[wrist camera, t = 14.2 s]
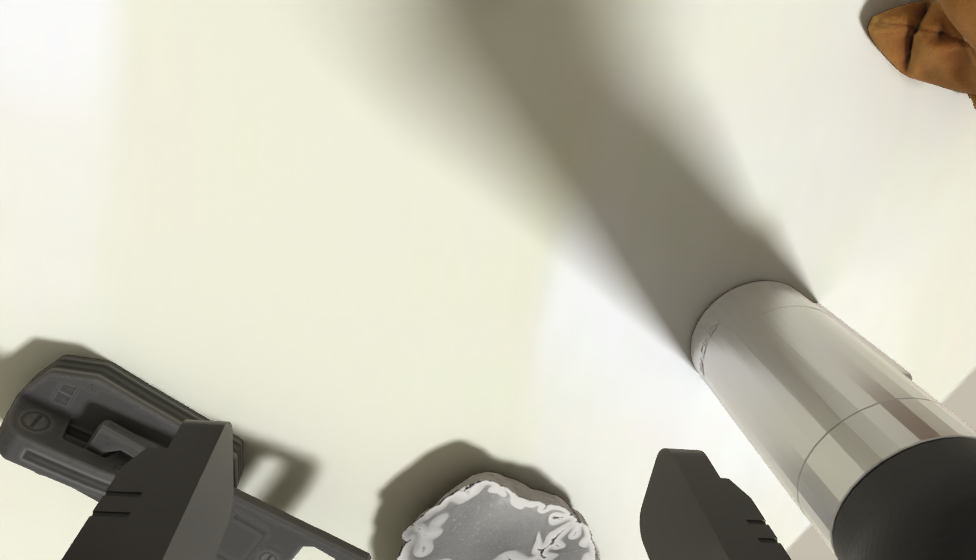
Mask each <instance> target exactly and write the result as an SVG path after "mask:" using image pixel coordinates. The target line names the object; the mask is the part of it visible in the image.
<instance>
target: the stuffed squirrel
mask: <svg viewBox="0 0 976 560" xmlns="http://www.w3.org/2000/svg"><path fill="white" fill-rule="evenodd" d="M868 32H869V35H870V36H871V38H872V40H873V42H874V43H875V45H876V46H877V47H878V49H879V50H880V51H881V52H882V53H883V54H884V55H885V57H886V58H887V59H888V60H889V61H890V62H891V63H892V64H893V65H894V66H895V67H896V69H898V70H899V71H900V72H901V73H903V74H904V75H906V76H908V77H910V78H913V79H917V80H920V81H924V82H927V83H930V84H934V85H937V86H940V87H943V88H947V89H950V90H953V91H958V92H962V93H967V94H968V96H969V98H971V100H972V101H973V106H974V108H975V109H976V0H925V1H919V2H914V3H909V4H905V5H902V6H898V7H895V8H892V9H889V10H887V11H884V12H882V13H880V14H877V15H875V16H873V17H872V19H871V21H870V23H869V26H868Z"/></svg>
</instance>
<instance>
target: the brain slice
mask: <svg viewBox="0 0 976 560" xmlns="http://www.w3.org/2000/svg"><path fill="white" fill-rule="evenodd" d="M402 540H403V541H404V543H403V545H402V548H401V550H400V553H399V555H398V557H397V559H396V560H600V559H599V558H598V556H597V555H596V550H595V546H594V542H593V540H592V534H591V532H590V529H589V526H588V524H587V523H586V521H585V519H584V518H583V516H582V515H581V514H580V513H579V512H578V511H576V510H574V509H572V508H570V507H569V506H568V505H567V503H566V502H565V501H564V500H563V499H561V498H560V497H558V496H557V495H552V494H550V493H547V492H544V491H540V490H536V489H530V488H529V487H528V486H526V485H525V484H523V483H521V482H519V481H516V480H514V479H511V478H509V477H504V476H502V475H500V474H498V473H493V472H482V473H479V474H475V475H472V476H471V477H469V478H468V479H466V480H465V481H463V482H462V483H460V484H459V485H457V486H456V487H455V488H453V489H452V490H451V491H449V492H448V493H447V494H445V495H444V496H443V497H442V498H441V499H440V500H439V501H438V502H437V503H436V504H435V506H434V507H432V508H429V509H427V510H425V511H424V512H423V513H422V514H420V515H419V516H418V517H417V518H416V519H415V520H414V522H413V523H412V525H410V526H408V527H407V528H406V529H405V530H404V532H403V534H402Z"/></svg>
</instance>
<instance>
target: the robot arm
mask: <svg viewBox="0 0 976 560" xmlns="http://www.w3.org/2000/svg"><path fill="white" fill-rule="evenodd" d="M691 358H692V361H693V364H694V367H695V369H696V370H697V372H698V373H699V374H700V376H701V377H702V379H703V380H704V381H705V383H706V384H707V385H708V387H709V388H710V389H711V391H712V392H713V393H714V395H715V396H716V397H717V399H718V400H719V401H720V403H721V404H722V406H723V407H724V408H725V410H726V411H727V412H728V414H729V415H730V416H731V418H732V419H733V420H734V422H735V423H736V424H737V426H738V427H739V428H740V430H741V431H742V432H743V434H744V435H745V436H746V438H747V439H748V440H749V442H750V443H751V444H752V446H753V447H754V448H755V450H756V451H757V452H758V454H759V455H760V456H761V458H762V459H763V460H764V462H765V463H766V464H767V466H768V467H769V468H770V470H771V471H772V472H773V474H774V475H775V476H776V478H777V479H778V480H779V482H780V483H781V484H782V486H783V487H784V488H785V490H786V491H787V492H788V494H789V495H790V496H791V498H792V499H793V500H794V502H795V503H796V504H797V506H798V507H799V508H800V510H801V511H802V512H803V513H804V515H805V516H806V517H807V519H808V520H809V521H810V523H811V524H812V525H813V527H814V528H815V529H816V531H817V532H818V533H819V535H820V536H821V537H822V538H823V540H824V541H825V543H826V544H827V545H828V546H829V548H830V549H831V551H832V552H833V553H834V555H835V556H836V557H837V558H838V560H976V430H974V429H973V428H972V427H971V426H969V425H968V424H967V423H965V422H964V421H963V420H962V419H960V418H959V417H958V416H956V415H955V414H954V413H952V412H951V411H950V410H949V409H947V408H946V407H945V406H943V405H942V404H941V403H939V402H938V401H937V400H936V399H934V398H933V397H932V396H930V395H929V394H928V393H927V392H925V391H924V390H923V389H922V388H920V387H919V386H918V385H916V384H915V383H914V382H913V381H912V377H911V375H910V373H909V372H908V371H907V370H905V369H904V368H903V367H901V366H900V365H899V364H898V363H896V362H895V361H894V360H892V359H891V358H890V357H888V356H887V355H886V354H885V353H883V352H882V351H881V350H879V349H878V348H877V347H875V346H874V345H873V344H872V343H870V342H869V341H868V340H866V339H865V338H864V337H862V336H861V335H860V334H859V333H857V332H856V331H855V330H853V329H852V328H851V327H849V326H848V325H847V324H846V323H844V322H843V321H842V320H840V319H839V318H838V317H836V316H835V315H834V314H833V313H831V312H830V311H829V310H827V309H826V308H825V307H823V306H822V305H821V304H817V303H812V302H811V301H810V300H809V299H807V298H806V297H805V296H803V295H802V294H801V293H800V292H798V291H797V290H795V289H794V288H792V287H790V286H789V285H786V284H783V283H780V282H774V281H759V282H751V283H748V284H745V285H741V286H738V287H736V288H734V289H732V290H731V291H729V292H727V293H725V294H724V295H722V296H721V297H720V298H718V299H717V300H716V301H714V302H713V303H712V305H711V306H710V307H709V308H708V309H707V310H706V311H705V312H704V314H703V315H702V317H701V318H700V320H699V321H698V323H697V325H696V328H695V330H694V333H693V336H692V341H691ZM233 492H234V482H233V432H232V425H231V423H230V422H223V421H206V420H188V419H187V420H184V421H183V423H182V424H181V426H180V427H179V429H178V431H177V433H176V434H175V436H174V438H173V440H172V441H171V443H170V445H169V447H168V448H152V447H147V448H146V449H145V450H143V451H142V452H141V453H139V454H138V455H137V456H135V457H134V458H133V459H131V460H130V461H129V462H127V463H126V464H125V465H124V466H122V467H121V469H120V470H119V472H118V473H117V475H116V476H115V478H114V479H113V481H112V482H111V484H110V486H109V487H108V489H107V490H106V494H105V496H102V498H101V499H100V501H99V503H98V504H97V506H96V507H95V509H94V510H93V515H92V516H90V517H89V518H88V520H87V521H86V523H85V524H84V526H83V527H82V529H81V530H80V532H79V534H78V535H77V537H76V538H75V540H74V541H73V543H72V544H71V546H70V548H69V549H68V551H67V552H66V554H65V555H64V557H63V558H62V560H215V558H216V555H217V553H218V550H219V547H220V544H221V542H222V539H223V536H224V534H225V531H226V528H227V525H228V522H229V518H230V514H231V509H232V503H233ZM640 532H641V537H642V541H643V544H644V547H645V549H646V552H647V554H648V557H649V559H650V560H791V559H790V557H789V555H788V554H787V552H786V551H785V549H784V548H783V546H782V545H781V543H778V542H777V537H776V536H775V534H774V533H773V531H772V530H771V528H770V527H769V525H766V524H765V519H764V517H763V516H762V514H761V513H760V511H759V510H758V508H757V507H756V505H755V504H754V502H753V501H752V499H751V498H750V497H749V496H748V495H747V494H745V493H744V492H743V491H742V490H741V489H740V488H739V487H737V486H736V485H735V484H734V483H733V482H732V481H731V480H729V479H726V478H720V477H719V475H718V473H717V472H716V470H715V469H714V467H713V465H712V464H711V462H710V461H709V459H708V457H707V456H706V454H705V453H704V452H702V451H700V450H685V449H667V448H664V449H662V450H660V452H659V453H658V455H657V458H656V461H655V464H654V468H653V471H652V474H651V478H650V481H649V484H648V487H647V491H646V494H645V497H644V501H643V504H642V507H641V512H640Z"/></svg>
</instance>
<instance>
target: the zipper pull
mask: <svg viewBox="0 0 976 560" xmlns="http://www.w3.org/2000/svg"><path fill="white" fill-rule="evenodd" d="M187 419H188V420H206V421H210V420H209V419H207V418H205V417H204V416H202V415H200V414H199V413H197V412H195V411H193V410H192V409H190V408H188V407H187V406H185V405H183V404H181V403H180V402H178V401H176V400H175V399H173V398H171V397H170V396H168V395H166V394H164V393H163V392H161V391H159V390H158V389H156V388H154V387H152V386H151V385H149V384H148V383H146V382H144V381H143V380H141V379H139V378H138V377H136V376H134V375H133V374H131V373H130V372H128V371H126V370H125V369H123V368H121V367H120V366H118V365H116V364H115V363H113V362H111V361H106V360H99V359H92V358H85V357H79V356H72V355H64V356H62V357H61V358H59V359H58V360H57V361H55V362H54V363H52V364H51V365H50V366H48V367H47V368H45V369H44V370H43V371H41V372H40V373H38V374H37V375H36V376H35V377H34V378H33V379H32V380H31V381H30V382H29V383H28V384H27V385H26V386H25V387H24V388H23V389H22V390H21V392H20V393H19V394H18V395H17V397H16V399H15V400H14V402H13V404H12V405H11V407H10V409H9V411H8V412H7V414H6V416H5V418H4V420H3V422H2V425H1V427H0V454H1V455H2V457H3V458H5V459H7V460H9V461H11V462H13V463H16V464H18V465H20V466H23V467H25V468H27V469H30V470H32V471H34V472H35V473H37V474H39V475H43V476H46V477H48V478H51V479H53V480H56V481H58V482H60V483H63V484H65V485H68V486H70V487H72V488H74V489H76V490H78V491H80V492H81V493H83V494H85V495H87V496H89V497H90V498H92V499H94V500H96V501H98V502H99V501H100V499H101V498H102V496H105V494H106V490H107V489H108V487H109V486H110V484H111V482H112V481H113V479H114V478H115V476H116V475H117V473H118V472H119V470H120V469H121V467H122V466H124V465H125V464H126V463H127V462H129V461H130V460H131V459H133V458H134V457H135V456H137V455H138V454H139V453H141V452H142V451H143V450H145V449H146V448H147V447H152V448H168V447H169V445H170V443H171V441H172V440H173V438H174V436H175V434H176V433H177V431H178V429H179V427H180V426H181V424H182V423H183V421H184V420H187ZM242 470H243V442H242V439H240V438H239V437H237V436H236V435H234V434H233V482H234V492H233V503H232V509H231V514H230V518H229V522H228V525H227V528H226V531H225V534H224V536H223V539H222V542H221V544H220V547H219V550H218V553H217V555H216V558H215V560H292V559H293V558H294V557H295V555H296V554H297V553H298V552H299V551H300V549H301V548H302V547H303V546H311V547H316V548H317V549H319V550H321V551H323V552H325V553H326V554H328V555H330V556H332V557H333V558H335V560H370V559H371V556H370V554H369V553H367V552H365V551H363V550H361V549H359V548H357V547H355V546H353V545H351V544H349V543H347V542H345V541H343V540H341V539H339V538H337V537H335V536H333V535H331V534H329V533H327V532H325V531H323V530H321V529H318V528H316V527H314V526H312V525H310V524H308V523H306V522H304V521H302V520H300V519H298V518H295V517H293V516H291V515H289V514H287V513H285V512H283V511H281V510H279V509H277V508H275V507H273V506H271V505H269V504H267V503H265V502H263V501H261V500H259V499H257V498H255V497H253V496H251V495H249V494H247V493H245V492H243V491H241V490H239V489H237V485H238V482H239V479H240V476H241V473H242Z"/></svg>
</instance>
